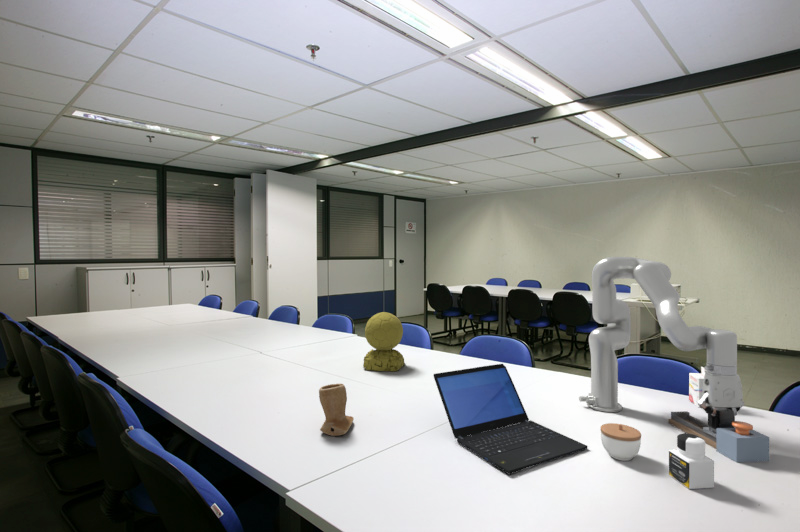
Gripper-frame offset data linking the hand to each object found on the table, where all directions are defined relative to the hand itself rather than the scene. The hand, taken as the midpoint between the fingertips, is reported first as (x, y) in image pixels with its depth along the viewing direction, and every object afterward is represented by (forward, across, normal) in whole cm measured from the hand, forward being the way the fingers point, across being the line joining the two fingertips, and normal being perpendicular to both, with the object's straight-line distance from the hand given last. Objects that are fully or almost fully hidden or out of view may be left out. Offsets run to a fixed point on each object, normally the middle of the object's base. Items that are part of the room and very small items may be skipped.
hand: (721, 426), depth 130 cm
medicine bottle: (+6, -26, -20) cm, 33 cm away
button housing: (+6, 0, -8) cm, 9 cm away
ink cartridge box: (+6, +22, +35) cm, 42 cm away
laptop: (+6, -66, +9) cm, 67 cm away
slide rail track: (+6, 0, +7) cm, 9 cm away
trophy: (+6, -104, +104) cm, 147 cm away
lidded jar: (+6, -36, -5) cm, 37 cm away
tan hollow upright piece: (+6, -123, +21) cm, 125 cm away
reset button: (0, 0, -8) cm, 8 cm away
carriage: (+4, 0, 0) cm, 4 cm away
